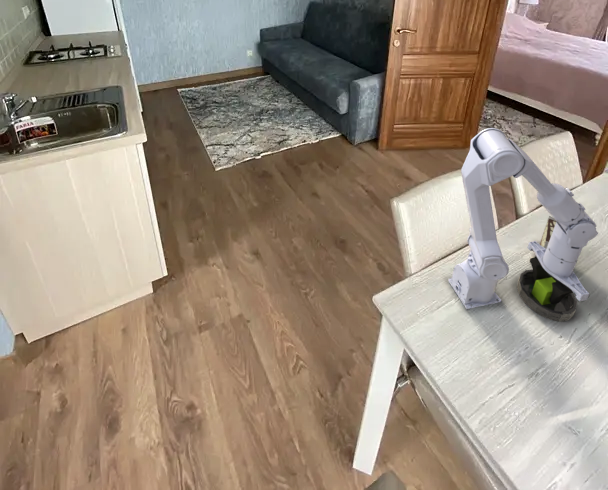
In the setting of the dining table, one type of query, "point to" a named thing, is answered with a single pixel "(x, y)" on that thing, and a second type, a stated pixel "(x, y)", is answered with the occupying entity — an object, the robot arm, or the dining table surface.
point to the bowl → (549, 311)
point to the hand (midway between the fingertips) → (546, 293)
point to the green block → (543, 290)
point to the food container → (548, 232)
